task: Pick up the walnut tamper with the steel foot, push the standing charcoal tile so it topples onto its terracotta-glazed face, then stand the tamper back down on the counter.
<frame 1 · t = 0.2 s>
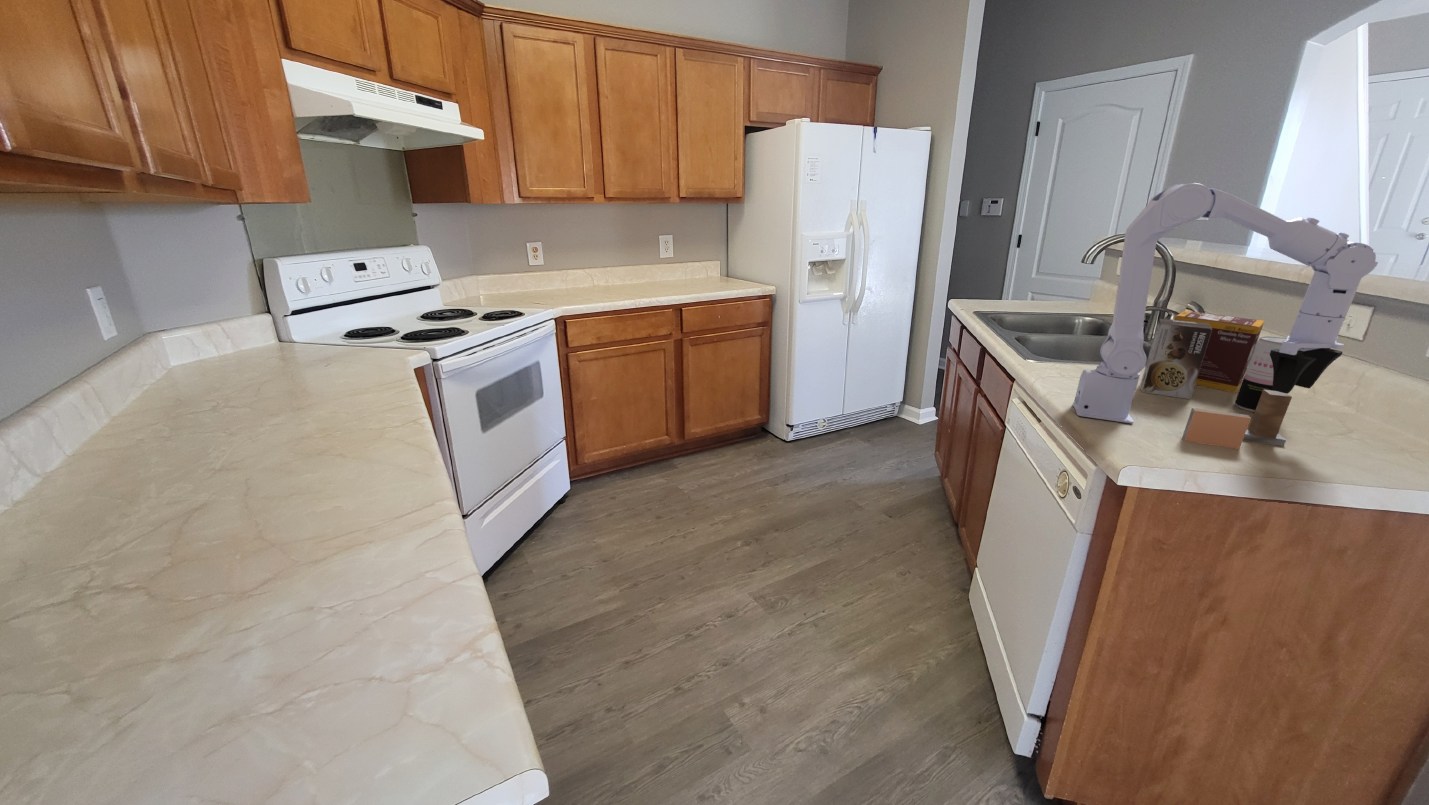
hand: (1291, 389, 102), 10 cm above the worktop, fingers open, 7 cm apart
tile: (1210, 443, 104), on the worktop
coffee box: (1163, 393, 131), on the worktop
supplement box: (1198, 381, 139), on the worktop
beverage can: (1253, 409, 121), on the worktop
tamper: (1259, 439, 106), on the worktop
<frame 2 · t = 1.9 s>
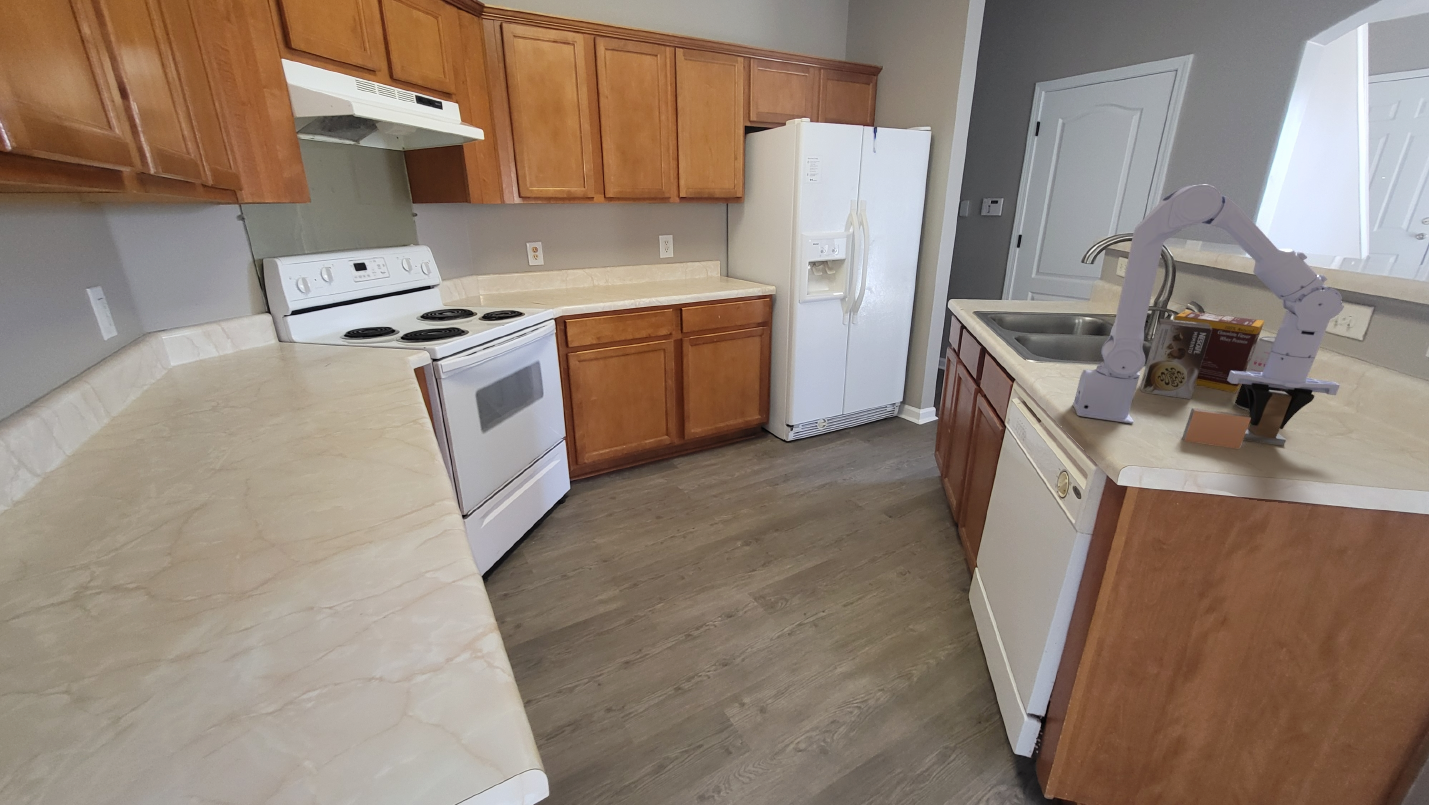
hand: (1264, 425, 105), 3 cm above the worktop, fingers closed on tamper, 3 cm apart
tamper: (1259, 439, 106), on the worktop, touching gripper
everything else where it was.
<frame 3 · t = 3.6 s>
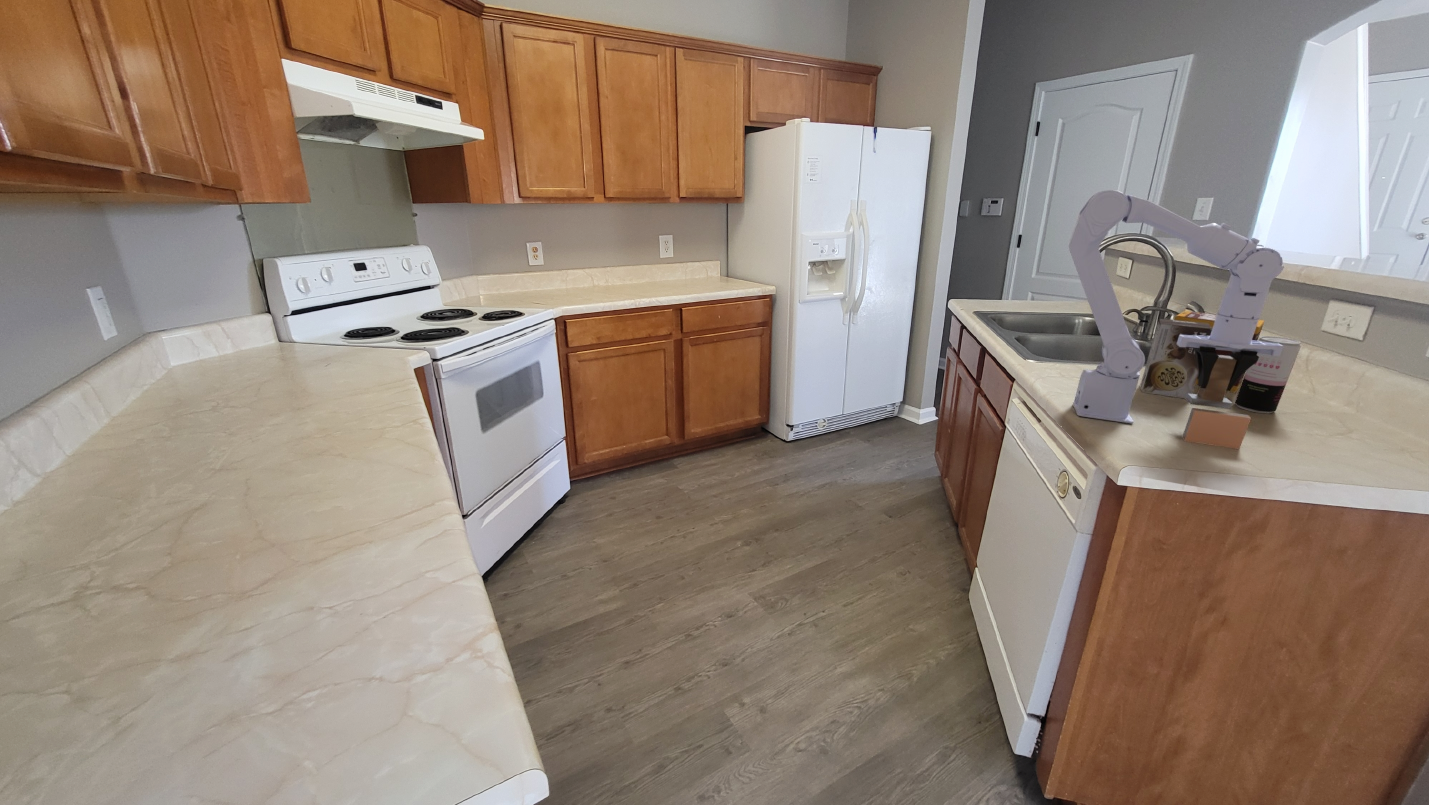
hand: (1213, 388, 106), 9 cm above the worktop, fingers closed on tamper, 3 cm apart
tamper: (1207, 404, 108), point 5 cm above the worktop, touching gripper
everything else where it was.
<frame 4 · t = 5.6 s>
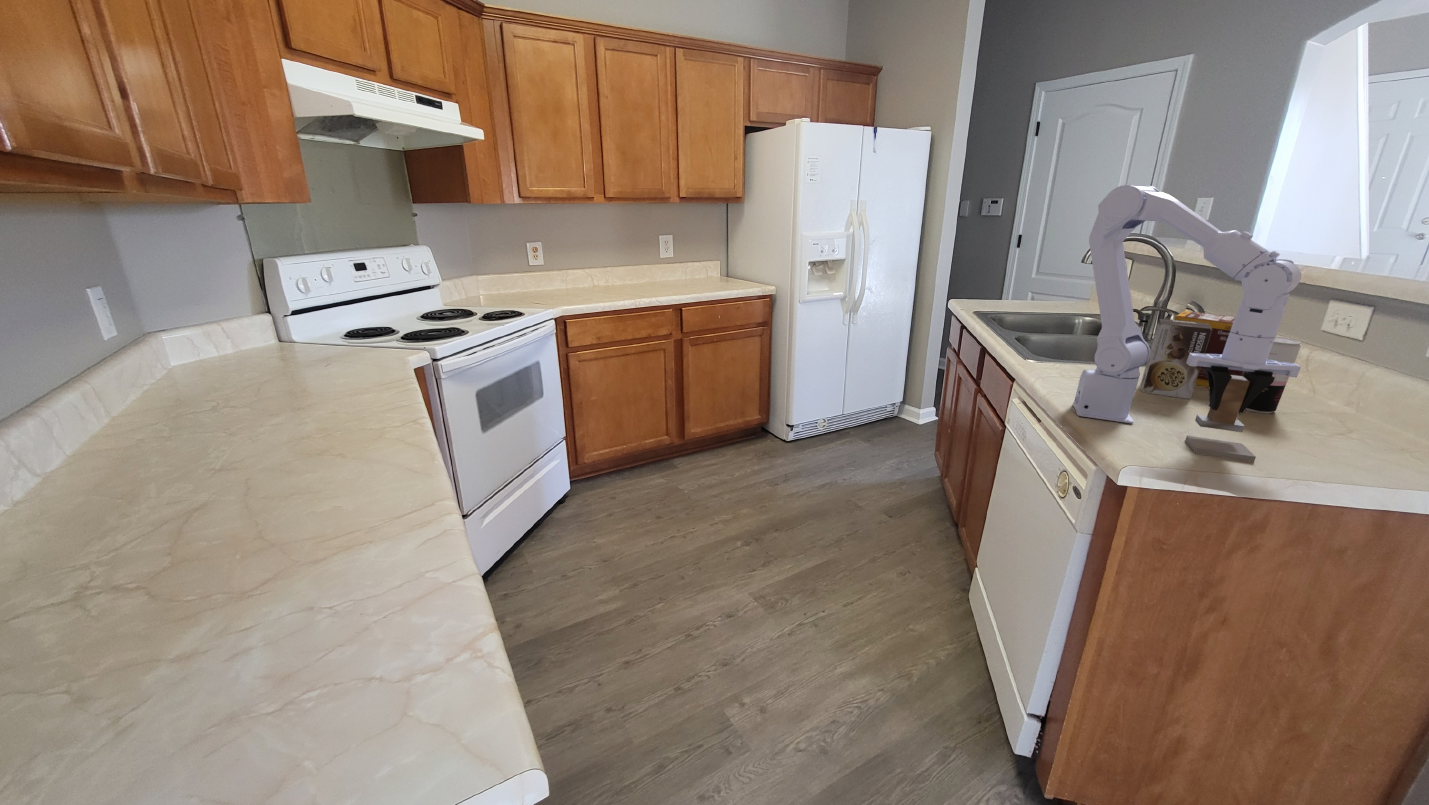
hand: (1225, 409, 100), 7 cm above the worktop, fingers closed on tamper, 3 cm apart
tile: (1212, 443, 103), on the worktop, tilted 90°
tamper: (1218, 426, 102), point 4 cm above the worktop, touching gripper
everything else where it was.
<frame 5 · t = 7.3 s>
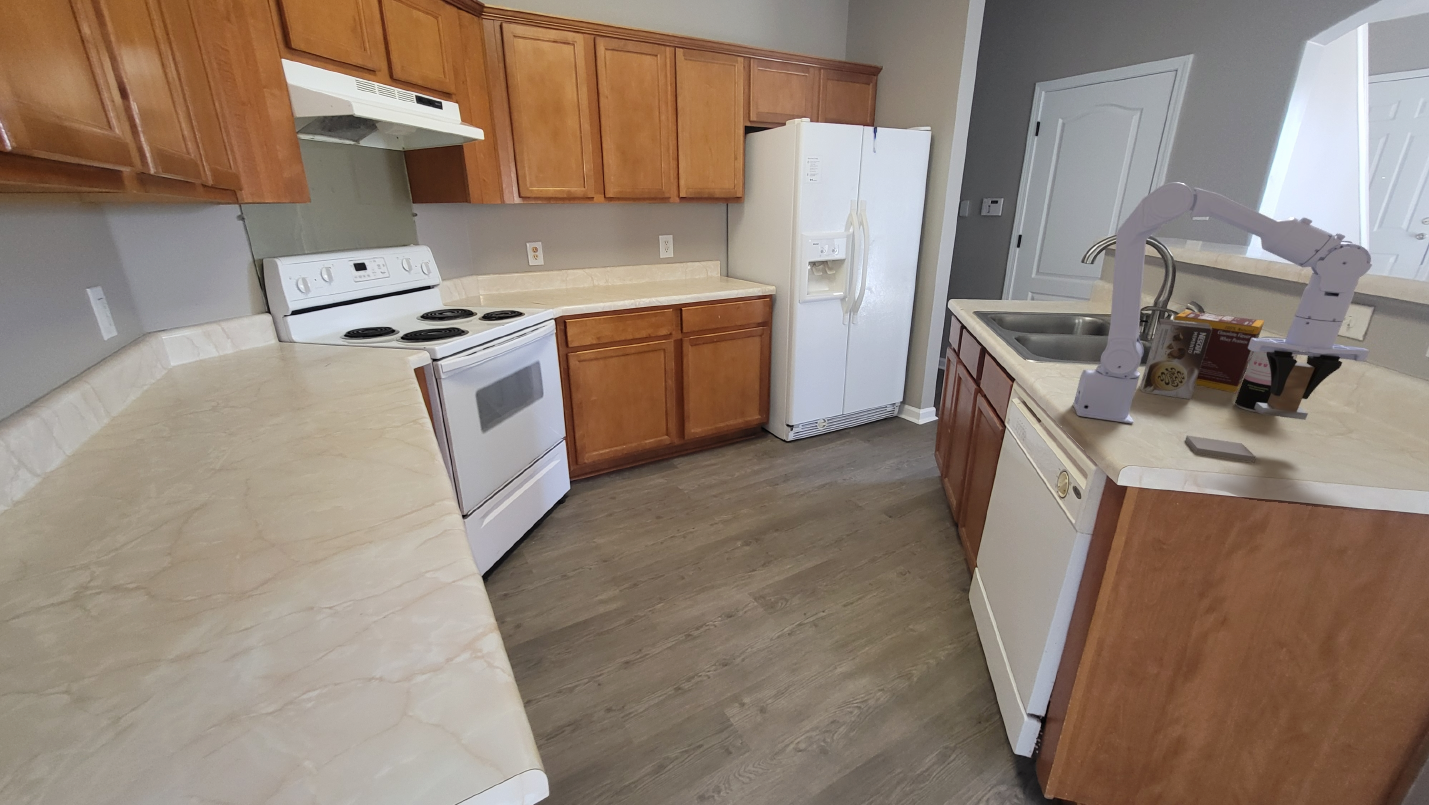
hand: (1288, 395, 99), 10 cm above the worktop, fingers closed on tamper, 3 cm apart
tamper: (1279, 414, 100), point 6 cm above the worktop, touching gripper
everything else where it was.
when the fingers open (4 cm above the worktop, at t = 8.7 s): tamper stays where it is, on the worktop.
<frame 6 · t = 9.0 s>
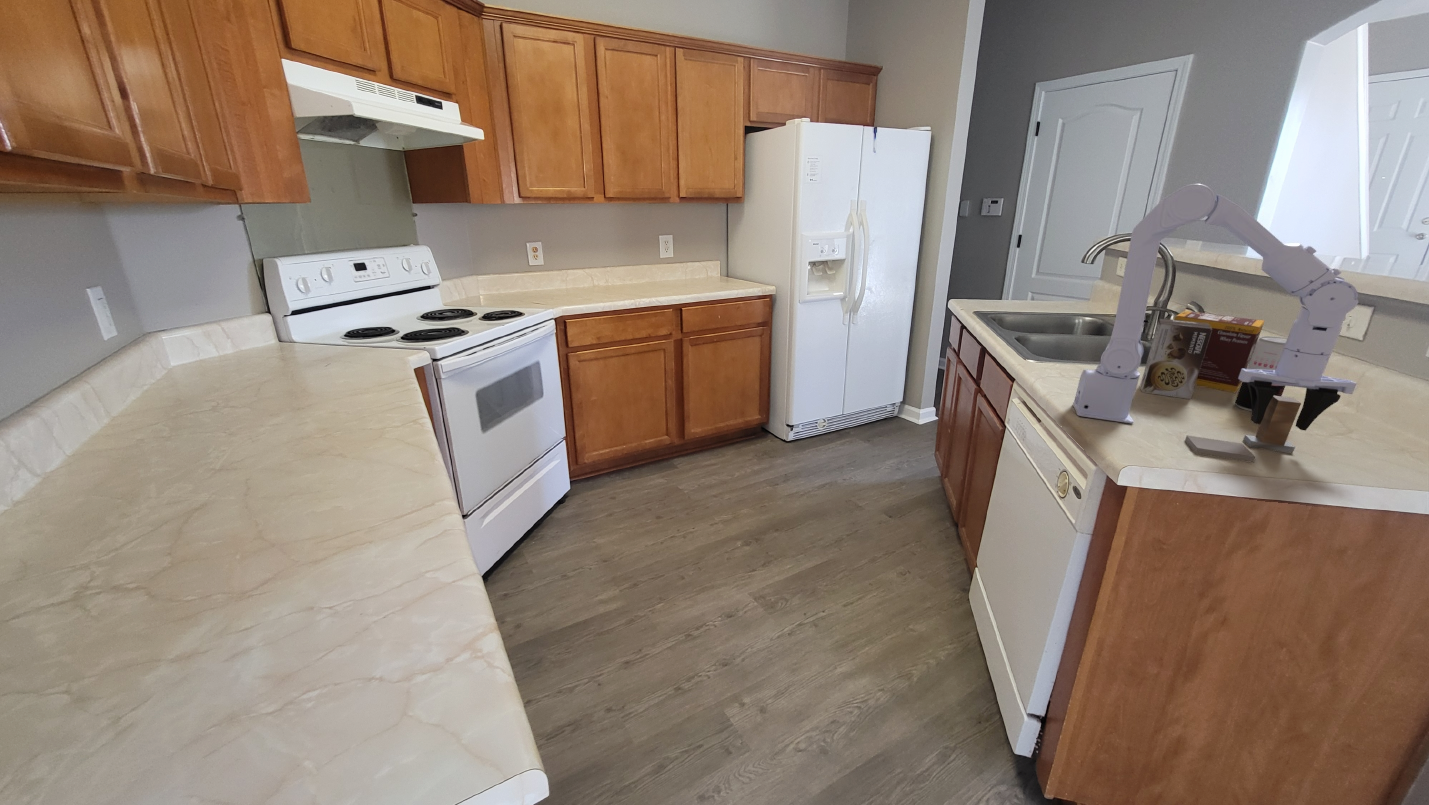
hand: (1277, 425, 101), 4 cm above the worktop, fingers open, 6 cm apart
tamper: (1267, 446, 103), on the worktop
everything else where it was.
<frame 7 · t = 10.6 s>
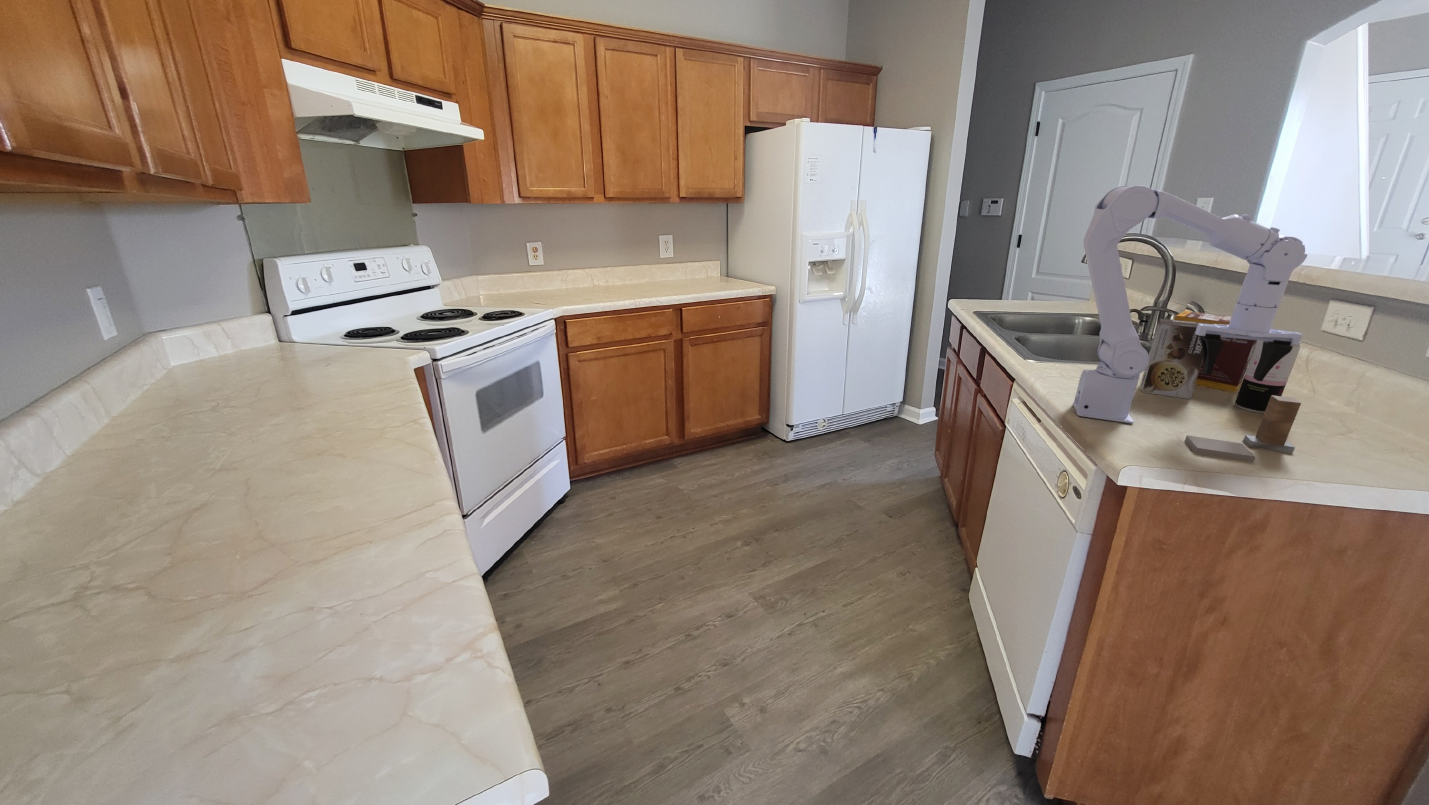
hand: (1231, 376, 107), 10 cm above the worktop, fingers open, 7 cm apart
nothing on the worktop moved.
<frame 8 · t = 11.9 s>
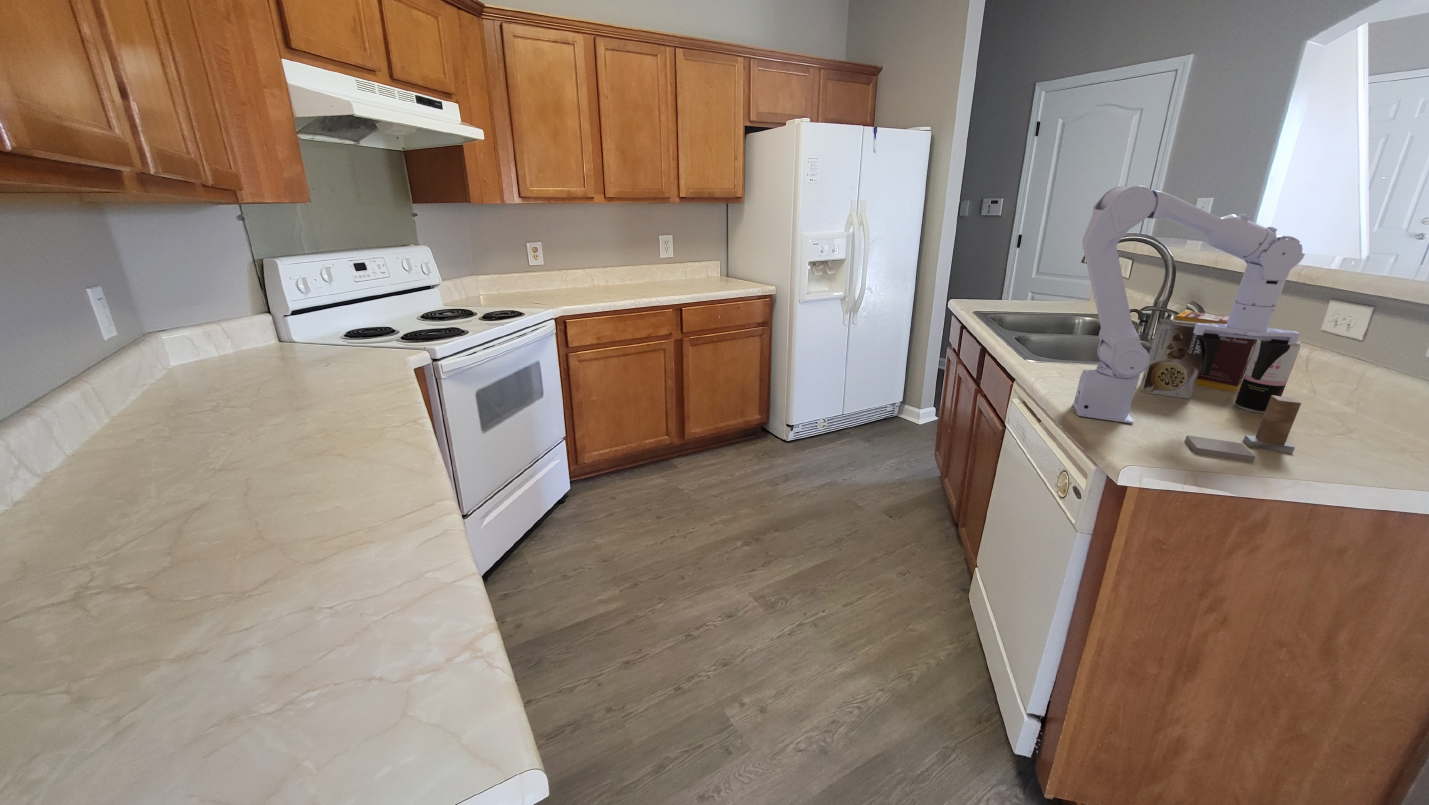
hand: (1229, 375, 108), 10 cm above the worktop, fingers open, 7 cm apart
nothing on the worktop moved.
at the end: tile tilted 90°; tamper inside the target area (0.5 cm from its centre), on the worktop; tamper tilted 0° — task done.
